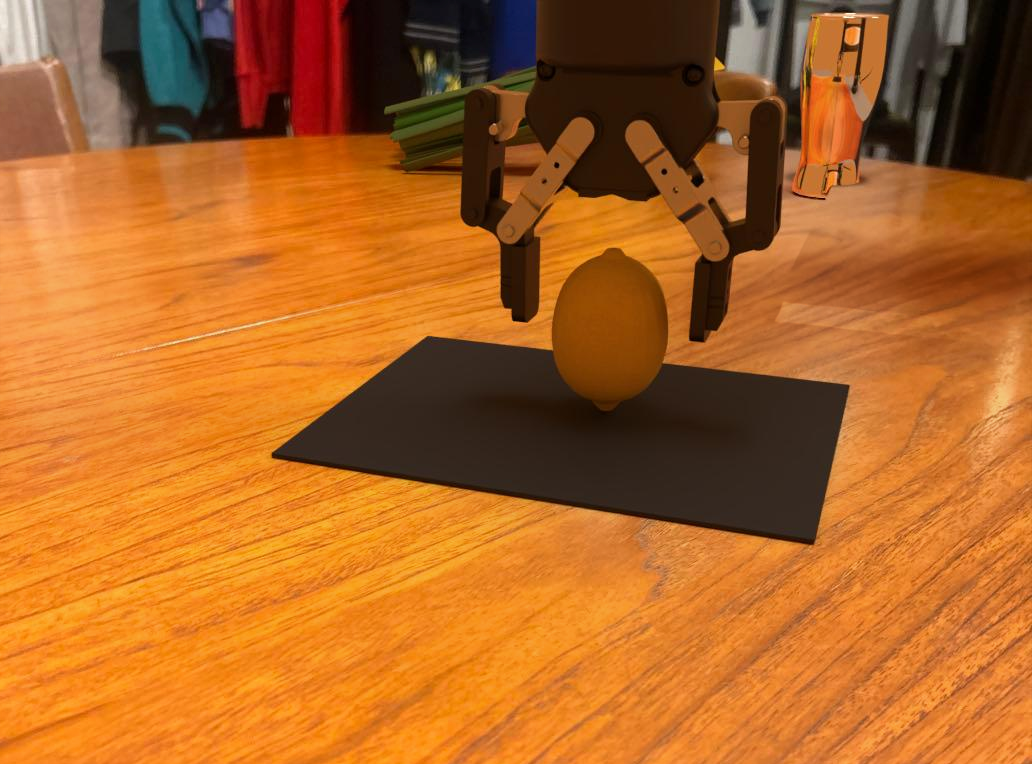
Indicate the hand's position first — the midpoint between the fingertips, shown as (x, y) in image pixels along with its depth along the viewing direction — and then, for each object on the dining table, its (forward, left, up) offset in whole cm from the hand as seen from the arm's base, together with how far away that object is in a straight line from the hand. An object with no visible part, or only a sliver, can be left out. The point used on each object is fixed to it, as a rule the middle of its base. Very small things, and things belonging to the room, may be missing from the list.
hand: (611, 327), depth 52 cm
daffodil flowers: (+23, -61, -5) cm, 65 cm away
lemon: (0, 0, -4) cm, 5 cm away
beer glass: (-5, -60, -5) cm, 60 cm away
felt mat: (+1, +1, -4) cm, 5 cm away
